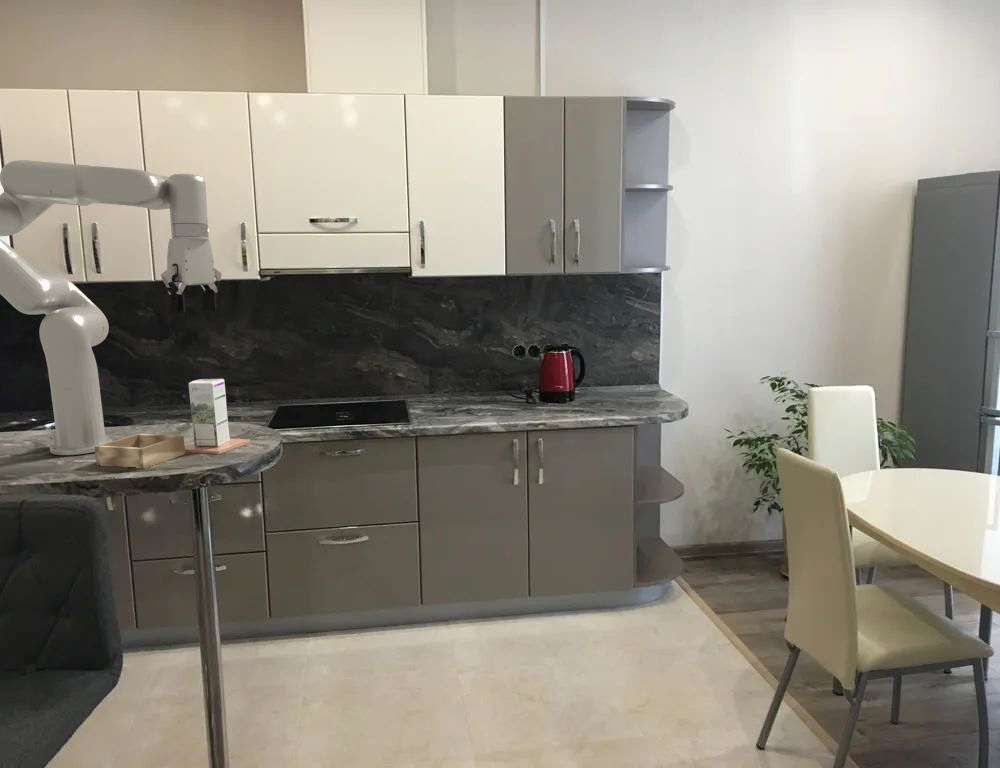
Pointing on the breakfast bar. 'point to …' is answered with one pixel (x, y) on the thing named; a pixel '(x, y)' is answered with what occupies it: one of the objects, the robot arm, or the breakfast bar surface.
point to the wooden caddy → (140, 450)
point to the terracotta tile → (217, 450)
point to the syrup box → (209, 412)
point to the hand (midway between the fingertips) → (194, 311)
